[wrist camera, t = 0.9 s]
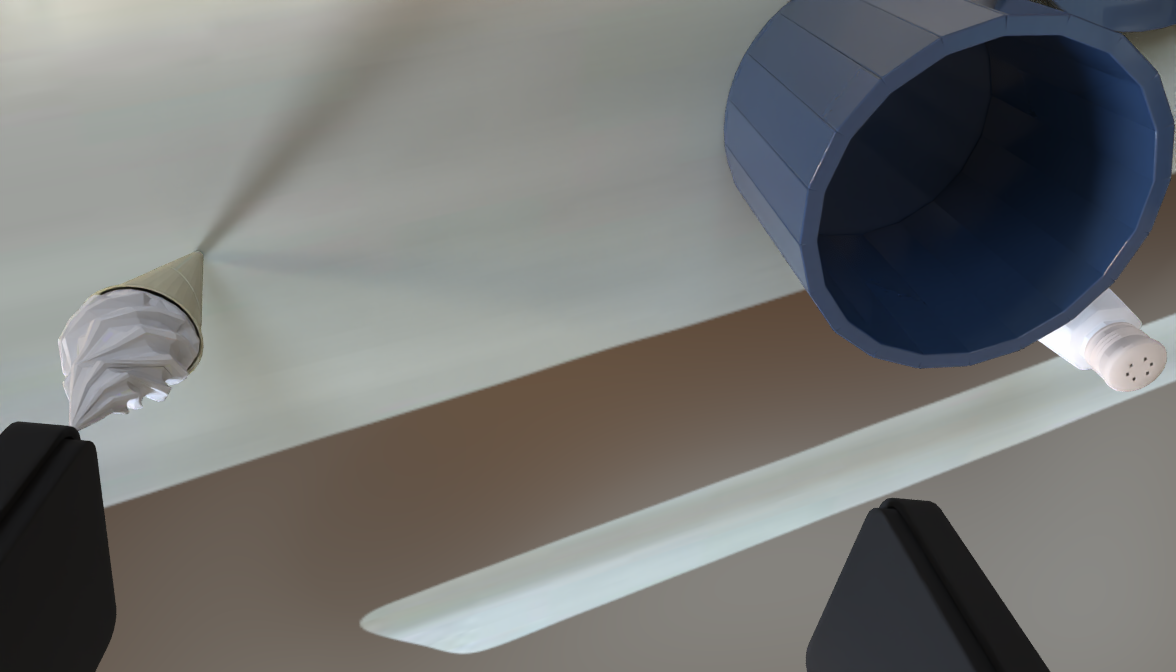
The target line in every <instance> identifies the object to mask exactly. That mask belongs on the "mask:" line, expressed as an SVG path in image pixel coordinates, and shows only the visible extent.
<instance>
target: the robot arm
mask: <svg viewBox="0 0 1176 672" xmlns="http://www.w3.org/2000/svg"><path fill="white" fill-rule="evenodd" d="M115 622H116V603H115V595H114V587H113V579H112V571H111V563H110V555H109V547H108V539H107V531H106V523H105V515H104V507H103V499H102V491H101V483H100V475H99V467H98V459H97V452H96V448H95V445H94V443H93V442H91V441H84V440H81V439H80V435H79V432H78V431H77V429H76V428H74V427H72V426H64V425H52V424H41V423H29V422H15V423H12V424H10V425H9V426H8V427H7V428H6V429H5V430H4V431H3V432H2V433H1V435H0V672H95V671H96V669H97V667H98V665H99V663H100V661H101V659H102V657H103V655H104V653H105V651H106V649H107V647H108V644H109V642H110V640H111V637H112V634H113V631H114V626H115ZM806 668H807V672H1050V671H1049V669H1048V668H1047V666H1046V665H1045V663H1044V662H1043V660H1042V659H1041V658H1040V656H1039V654H1038V653H1037V651H1036V650H1035V649H1034V647H1033V645H1032V644H1031V642H1030V641H1029V639H1028V638H1027V637H1026V635H1025V634H1024V632H1023V631H1022V629H1021V628H1020V626H1019V625H1018V623H1017V622H1016V620H1015V619H1014V617H1013V616H1012V614H1011V613H1010V611H1009V610H1008V608H1007V607H1006V605H1005V604H1004V602H1003V601H1002V599H1001V598H1000V597H999V595H998V594H997V592H996V590H995V589H994V588H993V586H992V585H991V583H990V582H989V580H988V579H987V577H986V576H985V574H984V573H983V571H982V570H981V568H980V567H979V565H978V564H977V562H976V561H975V559H974V558H973V556H972V555H971V553H970V552H969V550H968V549H967V547H966V546H965V544H964V543H963V542H962V540H961V539H960V537H959V536H958V534H957V533H956V531H955V530H954V528H953V527H952V525H951V524H950V522H949V521H948V519H947V518H946V516H945V515H944V513H943V512H942V510H941V509H940V508H939V507H938V506H937V505H936V504H935V503H932V502H931V501H922V500H910V499H899V498H889V499H886V500H885V501H884V502H882V504H881V505H880V507H879V508H873V509H872V510H871V511H870V512H869V513H868V515H867V517H866V519H865V521H864V523H863V525H862V528H861V530H860V532H859V534H858V536H857V539H856V541H855V543H854V545H853V547H852V550H851V552H850V554H849V556H848V558H847V561H846V563H845V565H844V567H843V570H842V572H841V574H840V576H839V578H838V581H837V583H836V585H835V587H834V590H833V592H832V594H831V596H830V598H829V601H828V603H827V605H826V607H825V609H824V612H823V614H822V616H821V618H820V620H819V623H818V625H817V627H816V629H815V631H814V634H813V636H812V638H811V640H810V642H809V645H808V648H807V652H806Z"/></svg>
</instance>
